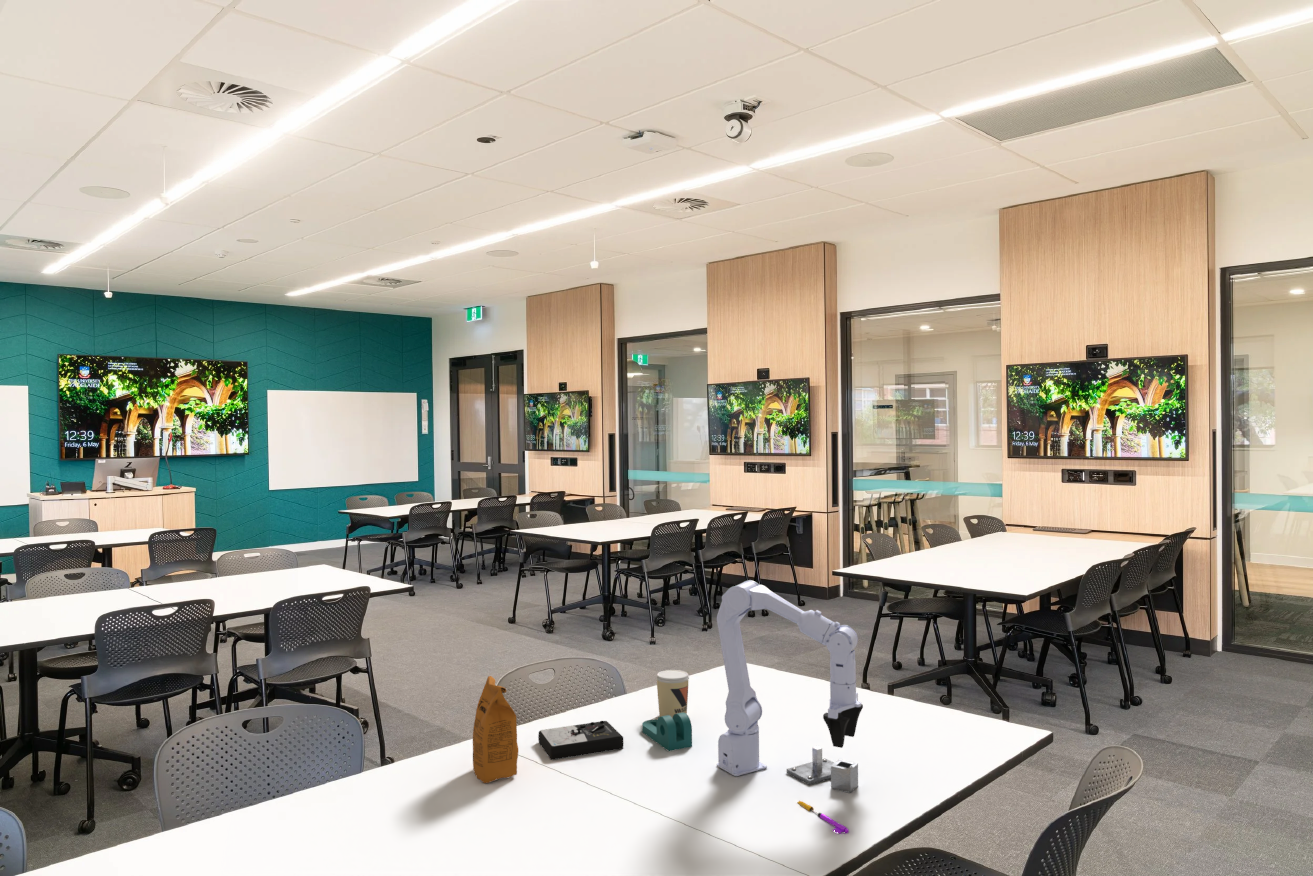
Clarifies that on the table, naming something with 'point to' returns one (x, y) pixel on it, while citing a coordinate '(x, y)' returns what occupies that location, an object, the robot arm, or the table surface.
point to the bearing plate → (813, 769)
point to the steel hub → (844, 776)
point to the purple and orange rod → (826, 819)
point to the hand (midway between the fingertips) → (843, 741)
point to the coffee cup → (672, 692)
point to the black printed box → (580, 740)
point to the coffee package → (494, 735)
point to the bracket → (670, 731)
